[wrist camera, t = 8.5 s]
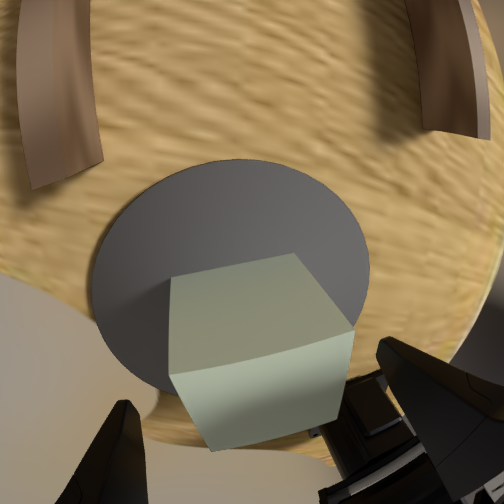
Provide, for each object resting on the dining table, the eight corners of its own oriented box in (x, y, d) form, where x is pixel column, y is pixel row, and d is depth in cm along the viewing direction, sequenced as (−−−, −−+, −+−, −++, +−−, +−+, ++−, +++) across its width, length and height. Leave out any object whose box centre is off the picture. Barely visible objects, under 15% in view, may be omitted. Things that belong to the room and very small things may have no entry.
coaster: (351, 361, 17) (354, 366, 16) (150, 408, 15) (150, 414, 14) (368, 146, 11) (375, 147, 10) (54, 200, 9) (49, 203, 8)
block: (296, 341, 14) (336, 419, 9) (198, 363, 13) (211, 451, 9) (293, 252, 12) (355, 329, 7) (171, 277, 11) (168, 374, 6)
